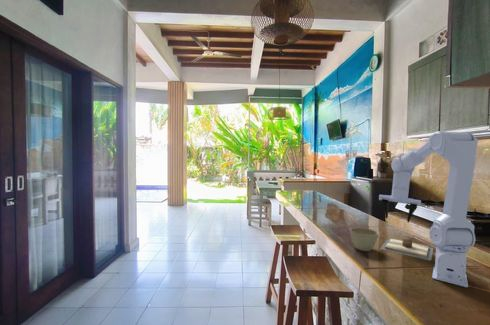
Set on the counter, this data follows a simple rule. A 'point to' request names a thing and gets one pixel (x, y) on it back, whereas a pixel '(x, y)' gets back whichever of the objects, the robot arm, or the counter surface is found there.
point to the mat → (429, 254)
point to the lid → (407, 247)
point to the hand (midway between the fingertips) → (397, 219)
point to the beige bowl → (363, 238)
